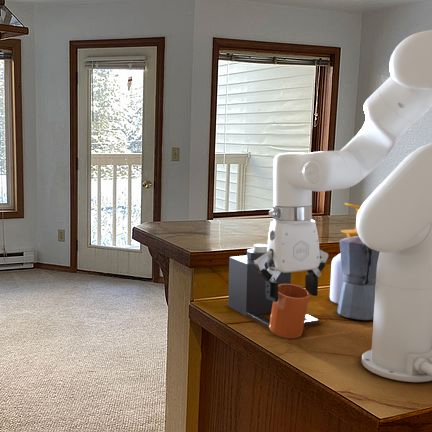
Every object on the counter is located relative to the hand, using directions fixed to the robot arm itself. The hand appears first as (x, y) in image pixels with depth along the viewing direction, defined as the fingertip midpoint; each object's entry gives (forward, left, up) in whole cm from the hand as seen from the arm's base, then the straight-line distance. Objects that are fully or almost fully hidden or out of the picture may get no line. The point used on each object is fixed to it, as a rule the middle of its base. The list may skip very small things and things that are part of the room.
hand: (292, 297), depth 114 cm
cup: (+1, 0, -7) cm, 7 cm away
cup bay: (+8, -4, -8) cm, 12 cm away
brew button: (+17, -4, +6) cm, 19 cm away
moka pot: (+4, -22, -8) cm, 24 cm away
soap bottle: (+14, -28, -8) cm, 32 cm away
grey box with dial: (+17, -4, -8) cm, 19 cm away
